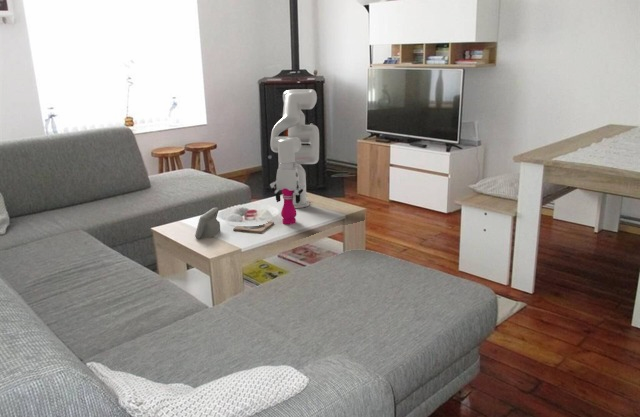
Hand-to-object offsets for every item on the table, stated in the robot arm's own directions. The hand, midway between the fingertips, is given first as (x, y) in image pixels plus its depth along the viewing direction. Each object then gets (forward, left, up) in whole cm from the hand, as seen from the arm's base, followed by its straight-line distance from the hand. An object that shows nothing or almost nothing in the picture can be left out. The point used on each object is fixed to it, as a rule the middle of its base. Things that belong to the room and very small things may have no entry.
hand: (288, 202), depth 250 cm
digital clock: (+24, -29, -11) cm, 40 cm away
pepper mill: (-1, 0, -11) cm, 10 cm away
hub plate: (+10, -13, -10) cm, 20 cm away
